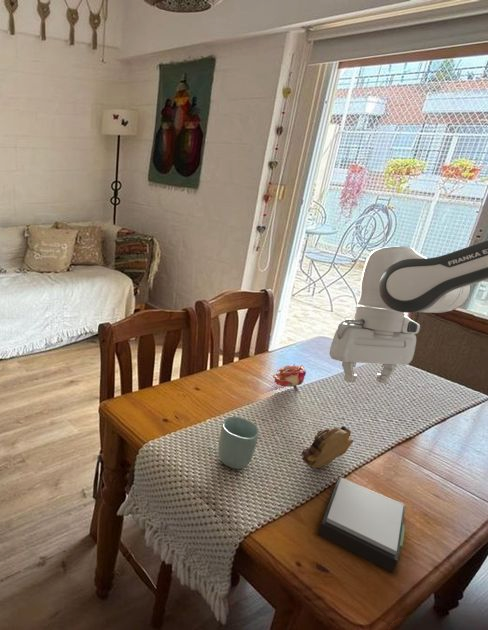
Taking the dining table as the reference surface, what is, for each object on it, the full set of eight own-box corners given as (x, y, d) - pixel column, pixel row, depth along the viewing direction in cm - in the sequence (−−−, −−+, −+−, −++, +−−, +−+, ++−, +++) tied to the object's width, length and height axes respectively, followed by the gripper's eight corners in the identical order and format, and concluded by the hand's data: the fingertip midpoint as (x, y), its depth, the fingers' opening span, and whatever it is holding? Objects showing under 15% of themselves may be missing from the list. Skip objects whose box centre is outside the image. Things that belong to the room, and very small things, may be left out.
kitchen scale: (403, 518, 89) (410, 503, 87) (395, 574, 77) (403, 558, 76) (334, 487, 96) (339, 473, 94) (317, 534, 84) (323, 519, 83)
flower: (315, 385, 132) (305, 359, 133) (307, 391, 125) (297, 364, 126) (282, 391, 138) (274, 367, 139) (273, 398, 131) (264, 372, 132)
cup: (246, 479, 98) (255, 443, 94) (211, 465, 101) (218, 430, 97) (253, 459, 104) (261, 424, 100) (220, 446, 107) (227, 412, 103)
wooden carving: (330, 445, 109) (341, 411, 105) (349, 456, 106) (361, 422, 102) (292, 469, 101) (302, 434, 97) (311, 482, 97) (322, 446, 93)
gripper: (354, 320, 90) (341, 385, 92) (426, 326, 96) (413, 387, 97) (328, 315, 96) (317, 376, 98) (397, 321, 102) (386, 379, 103)
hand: (365, 382), depth 98 cm, fingers open, 8 cm apart
